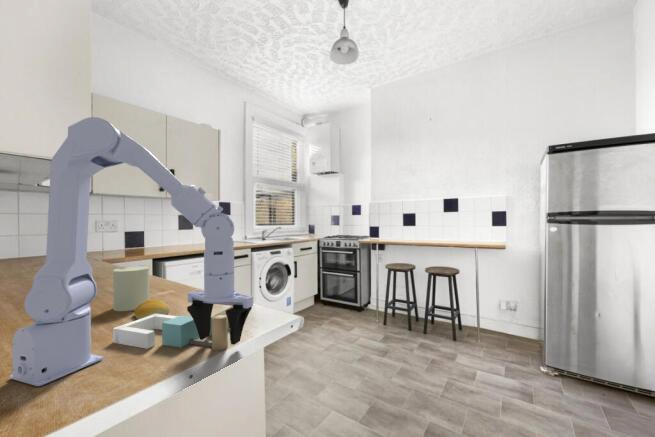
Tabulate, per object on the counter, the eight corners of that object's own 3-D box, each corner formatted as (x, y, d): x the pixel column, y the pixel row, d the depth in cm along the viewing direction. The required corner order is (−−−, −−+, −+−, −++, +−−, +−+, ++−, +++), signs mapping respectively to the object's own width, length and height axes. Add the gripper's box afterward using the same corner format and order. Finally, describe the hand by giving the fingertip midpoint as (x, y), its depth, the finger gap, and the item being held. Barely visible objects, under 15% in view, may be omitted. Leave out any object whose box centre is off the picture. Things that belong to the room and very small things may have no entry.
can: (130, 302, 92) (130, 264, 92) (156, 302, 91) (156, 264, 91) (104, 311, 83) (104, 269, 83) (133, 312, 82) (133, 269, 82)
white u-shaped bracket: (147, 348, 57) (147, 333, 58) (113, 342, 61) (112, 328, 61) (187, 330, 67) (187, 317, 67) (155, 325, 70) (155, 313, 70)
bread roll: (137, 323, 73) (137, 307, 73) (132, 314, 80) (132, 300, 80) (173, 316, 78) (173, 301, 78) (165, 308, 85) (165, 295, 85)
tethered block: (217, 353, 55) (217, 322, 55) (162, 344, 60) (161, 315, 60) (233, 343, 60) (233, 314, 60) (181, 335, 64) (181, 308, 64)
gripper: (261, 271, 59) (261, 336, 59) (205, 268, 64) (205, 328, 64) (240, 277, 53) (240, 351, 53) (179, 273, 58) (179, 341, 57)
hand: (219, 340), depth 58 cm, fingers open, 7 cm apart
